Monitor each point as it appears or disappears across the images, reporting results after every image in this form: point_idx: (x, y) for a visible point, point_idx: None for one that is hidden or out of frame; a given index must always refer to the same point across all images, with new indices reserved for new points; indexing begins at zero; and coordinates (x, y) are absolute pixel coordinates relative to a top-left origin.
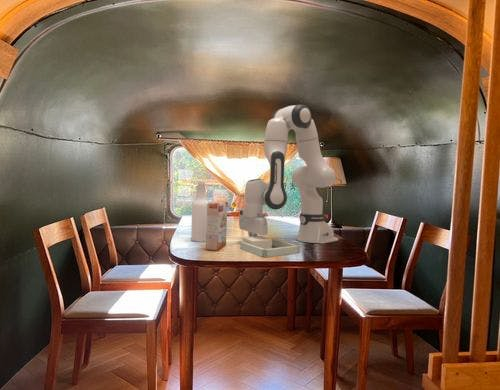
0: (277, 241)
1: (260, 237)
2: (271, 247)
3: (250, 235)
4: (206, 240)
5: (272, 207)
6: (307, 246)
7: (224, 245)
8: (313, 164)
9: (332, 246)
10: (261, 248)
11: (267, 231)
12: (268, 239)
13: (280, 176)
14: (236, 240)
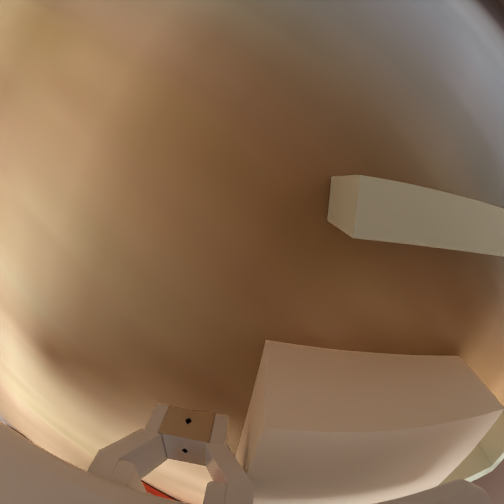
0: (484, 253)
1: (345, 471)
2: (467, 369)
3: (146, 466)
4: None
5: None
6: (492, 6)
7: (168, 498)
8: None
9: None
10: (473, 477)
11: (489, 500)
12: (473, 433)
13: None
14: (15, 352)
